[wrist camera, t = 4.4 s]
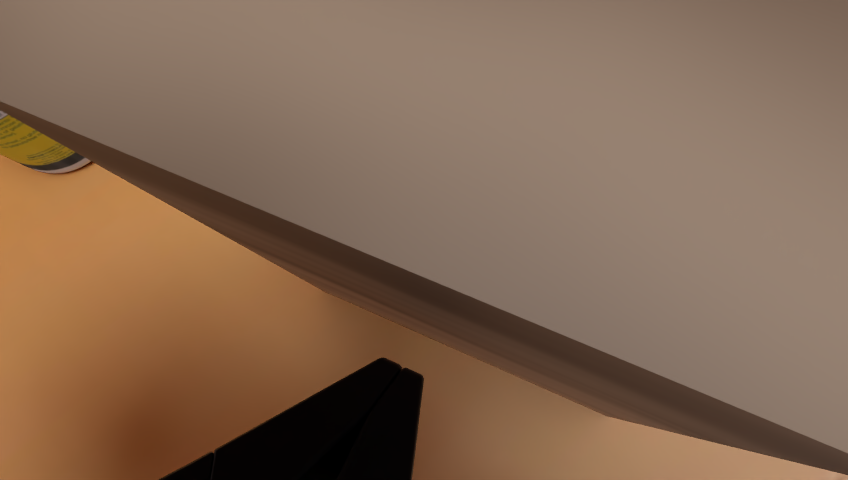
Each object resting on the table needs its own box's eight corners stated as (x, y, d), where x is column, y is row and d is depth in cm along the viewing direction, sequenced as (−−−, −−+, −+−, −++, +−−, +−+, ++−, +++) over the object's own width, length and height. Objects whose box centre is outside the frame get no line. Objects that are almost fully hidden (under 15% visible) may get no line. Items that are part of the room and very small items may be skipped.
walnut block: (607, 416, 16) (974, 505, 4) (322, 290, 18) (-62, 75, 6) (707, 133, 18) (1184, -457, 5) (438, 50, 20) (336, -509, 8)
